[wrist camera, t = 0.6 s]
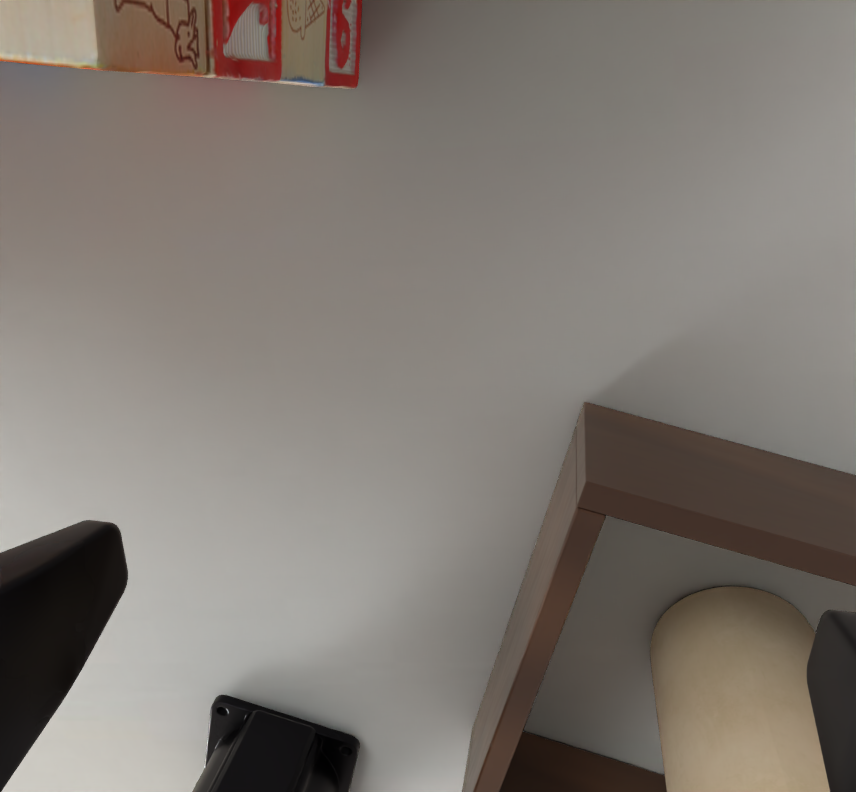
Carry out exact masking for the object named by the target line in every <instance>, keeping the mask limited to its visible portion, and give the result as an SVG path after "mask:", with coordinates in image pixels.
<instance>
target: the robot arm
mask: <svg viewBox="0 0 856 792" xmlns="http://www.w3.org/2000/svg"><path fill="white" fill-rule="evenodd" d="M127 580H128V570H127V564H126V559H125V553H124V548H123V542H122V537H121V532H120V530H119V528H118V527H117V525H115V524H113V523H110V522H102V521H94V520H86V521H82V522H80V523H77V524H74V525H72V526H69V527H67V528H64V529H61V530H59V531H56V532H54V533H51V534H48V535H46V536H43V537H41V538H38V539H35V540H33V541H30V542H28V543H25V544H22V545H20V546H17V547H15V548H12V549H9V550H7V551H4V552H2V553H0V792H1V791H2V790H3V788H4V787H5V785H6V784H7V782H8V781H9V779H10V778H11V776H12V775H13V773H14V772H15V770H16V769H17V767H18V766H19V764H20V763H21V762H22V760H23V759H24V757H25V756H26V754H27V753H28V751H29V750H30V748H31V747H32V745H33V744H34V742H35V741H36V739H37V738H38V737H39V735H40V734H41V732H42V731H43V729H44V728H45V726H46V725H47V723H48V722H49V720H50V719H51V717H52V716H53V714H54V713H55V712H56V710H57V709H58V707H59V706H60V704H61V703H62V701H63V699H64V698H65V696H66V695H67V693H68V692H69V690H70V689H71V687H72V685H73V683H74V682H75V680H76V678H77V677H78V675H79V673H80V672H81V670H82V668H83V666H84V664H85V662H86V661H87V659H88V657H89V655H90V653H91V651H92V650H93V648H94V646H95V644H96V642H97V640H98V639H99V637H100V635H101V633H102V631H103V630H104V628H105V626H106V624H107V622H108V620H109V619H110V617H111V615H112V613H113V611H114V609H115V608H116V606H117V604H118V602H119V600H120V598H121V597H122V595H123V593H124V591H125V588H126V585H127ZM807 685H808V690H809V695H810V700H811V704H812V709H813V714H814V718H815V723H816V728H817V733H818V737H819V742H820V747H821V751H822V756H823V761H824V765H825V770H826V775H827V780H828V784H829V789H830V792H856V613H855V612H847V611H838V610H828V611H826V612H824V613H823V615H822V616H821V618H820V621H819V624H818V628H817V631H816V635H815V638H814V642H813V645H812V649H811V652H810V656H809V659H808V663H807ZM359 748H360V743H359V741H358V739H356V738H355V737H354V736H352V735H349V734H346V733H343V732H340V731H337V730H333V729H330V728H327V727H324V726H321V725H318V724H315V723H312V722H308V721H305V720H302V719H299V718H296V717H293V716H290V715H286V714H283V713H280V712H277V711H274V710H271V709H268V708H264V707H261V706H258V705H255V704H252V703H249V702H246V701H242V700H239V699H236V698H233V697H230V696H226V695H220V696H218V697H217V698H216V699H215V701H214V703H213V704H212V707H211V713H210V722H209V731H208V740H207V749H206V758H205V767H204V771H203V773H202V775H201V776H200V778H199V780H198V782H197V784H196V786H195V788H194V789H193V791H192V792H349V789H350V785H351V781H352V777H353V773H354V769H355V764H356V760H357V756H358V752H359Z"/></svg>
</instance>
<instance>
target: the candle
mask: <svg viewBox="0 0 856 792" xmlns="http://www.w3.org/2000/svg"><path fill="white" fill-rule="evenodd" d="M815 635H816V634H815V632H814V630H813V628H812V627H811V626H810V624H809V623H808V621H807V620H806V619H805V617H804V616H803V615H802V614H801V613H800V612H799V611H798V610H797V609H796V608H795V607H794V606H792V605H791V604H790V603H788V602H787V601H785V600H783V599H782V598H780V597H778V596H776V595H773V594H771V593H768V592H765V591H762V590H758V589H753V588H747V587H717V588H712V589H707V590H703V591H700V592H697V593H694V594H692V595H689V596H687V597H685V598H683V599H682V600H680V601H678V602H677V603H675V604H674V605H673V606H672V607H670V608H669V609H668V610H667V611H666V612H665V613H664V614H663V616H662V617H661V618H660V620H659V621H658V623H657V625H656V627H655V629H654V632H653V635H652V640H651V647H650V659H651V669H652V678H653V686H654V694H655V702H656V710H657V718H658V725H659V733H660V741H661V749H662V757H663V765H664V773H665V781H666V789H667V792H830V789H829V784H828V780H827V775H826V770H825V765H824V761H823V756H822V751H821V747H820V742H819V737H818V733H817V728H816V723H815V718H814V714H813V709H812V704H811V700H810V695H809V690H808V685H807V663H808V659H809V656H810V652H811V649H812V645H813V642H814V638H815Z"/></svg>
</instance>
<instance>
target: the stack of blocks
mask: <svg viewBox="0 0 856 792" xmlns="http://www.w3.org/2000/svg"><path fill="white" fill-rule="evenodd" d="M361 15H362V0H0V61H7V62H16V63H26V64H36V65H47V66H58V67H69V68H80V69H92V70H103V71H118V72H135V73H149V74H162V75H177V76H194V77H207V78H220V79H230V80H241V81H261V82H271V83H281V84H291V85H301V86H311V87H331V88H345V89H354V88H356V87H357V86H358V79H359V60H360V41H361Z"/></svg>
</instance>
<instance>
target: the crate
mask: <svg viewBox="0 0 856 792" xmlns="http://www.w3.org/2000/svg"><path fill="white" fill-rule="evenodd" d="M606 515H608V516H611V517H615V518H618V519H622V520H625V521H629V522H632V523H636V524H639V525H643V526H646V527H650V528H653V529H657V530H661V531H664V532H668V533H671V534H675V535H678V536H682V537H685V538H689V539H692V540H696V541H699V542H703V543H706V544H710V545H713V546H717V547H720V548H724V549H727V550H731V551H734V552H738V553H741V554H745V555H748V556H752V557H756V558H759V559H763V560H766V561H770V562H773V563H777V564H780V565H784V566H787V567H791V568H794V569H798V570H801V571H805V572H808V573H812V574H815V575H819V576H822V577H826V578H829V579H833V580H836V581H840V582H843V583H847V584H851V585H854V586H856V475H852V474H848V473H845V472H841V471H837V470H834V469H830V468H826V467H823V466H819V465H815V464H812V463H808V462H804V461H800V460H797V459H793V458H789V457H786V456H782V455H778V454H775V453H771V452H767V451H764V450H760V449H756V448H753V447H749V446H745V445H742V444H738V443H734V442H731V441H727V440H723V439H720V438H716V437H712V436H709V435H705V434H701V433H697V432H694V431H690V430H686V429H683V428H679V427H675V426H672V425H668V424H664V423H661V422H657V421H653V420H650V419H646V418H642V417H639V416H635V415H631V414H628V413H624V412H620V411H617V410H613V409H609V408H606V407H602V406H598V405H595V404H591V403H587V402H584V403H583V406H582V409H581V412H580V415H579V418H578V421H577V426H576V427H575V430H574V433H573V436H572V439H571V442H570V445H569V448H568V451H567V454H566V456H565V459H564V462H563V465H562V468H561V471H560V474H559V477H558V480H557V483H556V486H555V489H554V492H553V494H552V497H551V500H550V503H549V506H548V509H547V512H546V515H545V518H544V521H543V524H542V527H541V530H540V532H539V535H538V538H537V541H536V544H535V547H534V550H533V553H532V556H531V559H530V562H529V565H528V568H527V570H526V573H525V576H524V579H523V582H522V585H521V588H520V591H519V594H518V597H517V600H516V603H515V606H514V608H513V611H512V614H511V617H510V620H509V623H508V626H507V629H506V632H505V635H504V638H503V641H502V644H501V646H500V649H499V652H498V655H497V658H496V661H495V664H494V667H493V670H492V673H491V676H490V679H489V681H488V684H487V687H486V690H485V693H484V696H483V699H482V702H481V705H480V708H479V711H478V714H477V717H476V719H475V722H474V725H473V728H472V733H471V739H470V745H469V752H468V758H467V764H466V770H465V776H464V783H463V789H462V792H667V789H666V781H665V776H664V775H661V774H658V773H655V772H652V771H648V770H645V769H642V768H639V767H636V766H632V765H629V764H626V763H623V762H620V761H616V760H613V759H610V758H607V757H604V756H600V755H597V754H594V753H591V752H588V751H584V750H581V749H578V748H575V747H572V746H568V745H565V744H562V743H559V742H556V741H552V740H549V739H546V738H543V737H539V736H536V735H533V734H530V733H527V732H523V730H524V727H525V724H526V722H527V719H528V717H529V714H530V711H531V709H532V706H533V704H534V701H535V699H536V696H537V693H538V691H539V688H540V686H541V683H542V680H543V678H544V675H545V673H546V670H547V668H548V665H549V662H550V660H551V657H552V655H553V652H554V650H555V647H556V644H557V642H558V639H559V637H560V634H561V631H562V629H563V626H564V624H565V621H566V619H567V616H568V613H569V611H570V608H571V606H572V603H573V600H574V598H575V595H576V593H577V590H578V588H579V585H580V582H581V580H582V577H583V575H584V572H585V569H586V567H587V564H588V562H589V559H590V557H591V554H592V551H593V549H594V546H595V544H596V541H597V538H598V536H599V533H600V531H601V528H602V526H603V523H604V520H605V518H606Z"/></svg>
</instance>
